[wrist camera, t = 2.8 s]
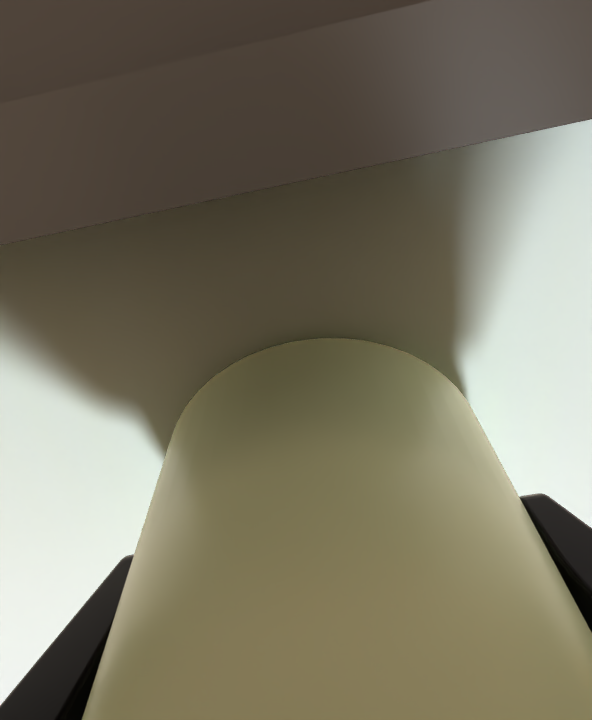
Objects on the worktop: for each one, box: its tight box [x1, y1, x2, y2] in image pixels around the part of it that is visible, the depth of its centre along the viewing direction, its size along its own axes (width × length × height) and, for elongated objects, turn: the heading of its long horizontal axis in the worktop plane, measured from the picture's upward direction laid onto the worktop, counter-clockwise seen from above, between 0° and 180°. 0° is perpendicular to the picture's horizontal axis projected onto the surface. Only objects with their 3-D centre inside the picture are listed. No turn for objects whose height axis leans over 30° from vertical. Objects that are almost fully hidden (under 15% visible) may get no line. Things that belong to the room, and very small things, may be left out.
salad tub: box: [82, 338, 592, 720], centre depth 7 cm, size 6×6×7 cm
